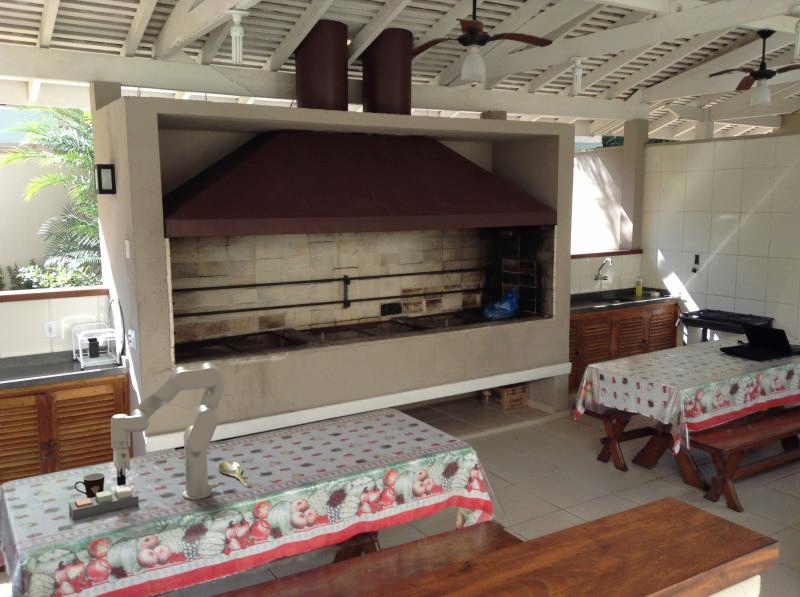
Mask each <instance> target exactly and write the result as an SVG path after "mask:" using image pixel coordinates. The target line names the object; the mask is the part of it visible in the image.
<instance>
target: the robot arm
mask: <svg viewBox="0 0 800 597" xmlns="http://www.w3.org/2000/svg"><path fill="white" fill-rule="evenodd" d="M224 380H225V379H224V377H223V374H222V372H221V370H220V369H219V367H218V366H217V365H215V363H212V362H205V363H202V364H201V366H199V369H191V370H190V369H189V368H187V367H186V366H179V367H176V368H175V369H174V370H173V371H172V372H171V373H170V374H169V375H168V376H167V377H166V378H165V379H164V380H163V382H161V384H160V385H158V387H156V389H155V390H154V391H152V392H150V394H149V395H148V396H147V397H145V398H144V399H143V400H142V401H141V402H140V403H139V404H138V405H137V406H136V407H135V408H134V410H133V411H132V412H131V413H130V415H128V414H126V413H117V414H114V415H112V416H111V418H110V442H111V443H110V444H111V445H110V446H111V449H112V450H113V452H112V453H113V454H112V455H113V456H112V457H113V459H112V461H113V466H114V469H115V470H116V484H117V487H121V486H125V485H126V484H127V483H126V482H127V481H126V478H127V477H126V470H127V471H130V470H131V459H130V458H131V456H130V449H129V448H130V447H131V433H143V432H145V431H146V430H148V428H149V425H150V421H149V420H150V418H151V417H152V416H153V415H154V414H155V413H156V412H157V411H158V410H159V409H161V408H162V407H164V406H167V405H170V404H171V403H172V402H173V401H174V400H175V399H176V398H177V397H178V395H180V393H181V392H182V391H190V390H191V391H192V390H201V389H203V391H202V394H201V397H200V400H199V402H198V404H197V405H196V407H195V411H194V413H193V417H194V423H193V424H192V425H190V426H188V427H187V428H186V429H185V431H184V434H183V447H184V449H183V450H184V468H185V471H184V473H185V490H184V491H183V492H182V498H184V499H186V500H189V501H191V500H192V501H196V500H197V501H199V500H203V499H205V498H208V497H210V496H211V495H212V493H213V490H212V489H216V488H219V487H220V485H219V482H214V481H212V482H209V478H208V477H209V476H208V475H209V474H208V473H209V472H208V449H207V448H208V447H209V445H210V443H211V440H212V439H213V436H214V434H215V432H216V429H217V426H218V423H219V414H218V408H219V406H220V403H221V401H222V397H223V394H224V390H225V382H224Z"/></svg>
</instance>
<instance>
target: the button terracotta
mask: <svg viewBox="0 0 800 597" xmlns="http://www.w3.org/2000/svg"><path fill="white" fill-rule="evenodd" d="M75 502H76V507H77V508H79V507H83V506H88V505H92V502H91V500H90V498H87V497H86V498H83V499H77V500H75Z"/></svg>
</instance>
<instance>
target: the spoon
mask: <svg viewBox="0 0 800 597" xmlns="http://www.w3.org/2000/svg"><path fill="white" fill-rule="evenodd" d="M217 466H218V468H217V469H218V470H219V472H221V473H223V474H225V475H228V476H231V477H235V478H237V479H238V480H239V481H240V483H241V484H242V485H243V486H244V484H245V485H246V484H247V483H249V482H248V481H247V480H246V479H245V478H243V476H242V472H243V467H242V465H240V464H239V463H237V462H235V461H231V460H230V461H228V460H227V461H222V462H220V463H219V464H218V465H217ZM228 470H230V471H233V470H236V473H235V472H234V474H233V473H231V472H229V471H228ZM227 471H228V472H227ZM230 473H231V474H230Z"/></svg>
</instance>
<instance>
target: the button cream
mask: <svg viewBox="0 0 800 597" xmlns="http://www.w3.org/2000/svg"><path fill="white" fill-rule="evenodd" d="M114 491H115V492H114V493H115V495H116V497H117V499H120V498H125V497H130V496H132V493H131V488H130V487H129V486H124V487H119V488H115V489H114Z"/></svg>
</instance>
